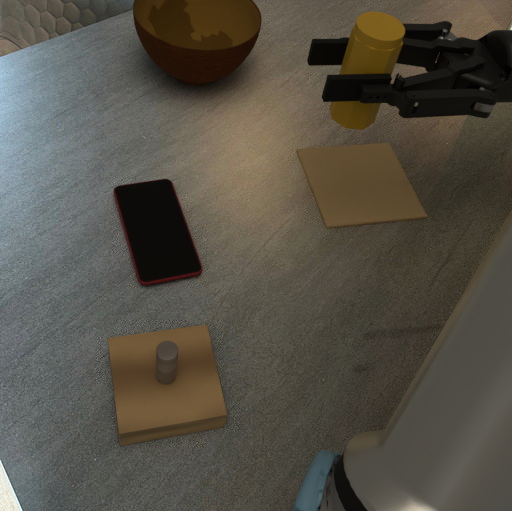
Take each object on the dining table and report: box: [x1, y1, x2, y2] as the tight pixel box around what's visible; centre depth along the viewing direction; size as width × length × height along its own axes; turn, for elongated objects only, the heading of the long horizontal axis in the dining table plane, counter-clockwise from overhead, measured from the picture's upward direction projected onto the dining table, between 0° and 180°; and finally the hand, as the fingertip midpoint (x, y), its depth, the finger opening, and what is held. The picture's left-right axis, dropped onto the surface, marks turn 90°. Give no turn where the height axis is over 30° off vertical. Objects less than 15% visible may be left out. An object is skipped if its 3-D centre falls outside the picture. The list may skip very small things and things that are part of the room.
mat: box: [295, 142, 428, 229], centre depth 84 cm, size 14×14×1 cm
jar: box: [329, 11, 405, 131], centre depth 64 cm, size 5×5×11 cm
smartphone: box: [112, 178, 203, 286], centre depth 74 cm, size 7×1×15 cm
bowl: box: [132, 0, 263, 86], centre depth 90 cm, size 18×18×10 cm
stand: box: [107, 323, 228, 447], centre depth 59 cm, size 10×10×8 cm
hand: (318, 70), depth 63 cm, fingers closed on jar, 5 cm apart
